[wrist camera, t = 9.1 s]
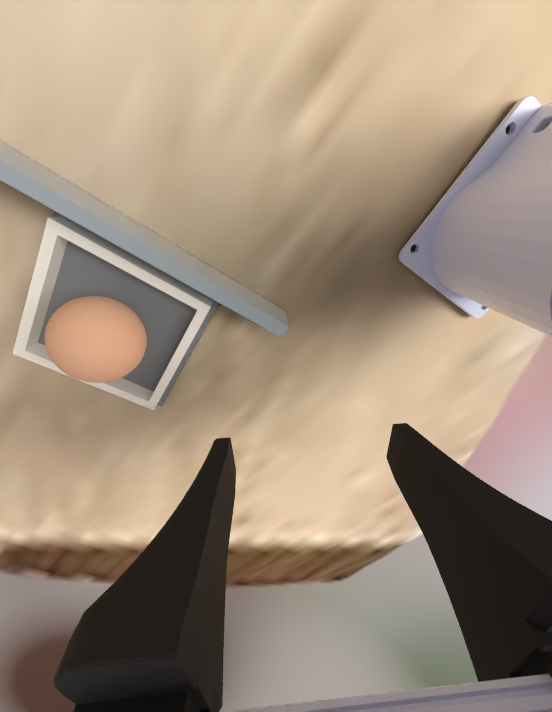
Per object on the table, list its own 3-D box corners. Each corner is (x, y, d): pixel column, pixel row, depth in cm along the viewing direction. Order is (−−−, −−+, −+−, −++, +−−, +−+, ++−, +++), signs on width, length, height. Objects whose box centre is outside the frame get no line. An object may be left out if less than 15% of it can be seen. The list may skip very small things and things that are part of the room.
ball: (76, 275, 17) (14, 301, 13) (161, 298, 18) (131, 329, 14) (77, 346, 19) (24, 389, 15) (153, 363, 20) (124, 408, 16)
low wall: (-22, 127, 14) (-86, 110, 11) (284, 310, 19) (289, 327, 17) (-24, 144, 14) (-87, 131, 12) (278, 319, 20) (282, 338, 17)
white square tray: (58, 204, 16) (41, 205, 14) (222, 297, 19) (219, 304, 17) (20, 345, 19) (3, 355, 18) (162, 403, 22) (156, 416, 21)
